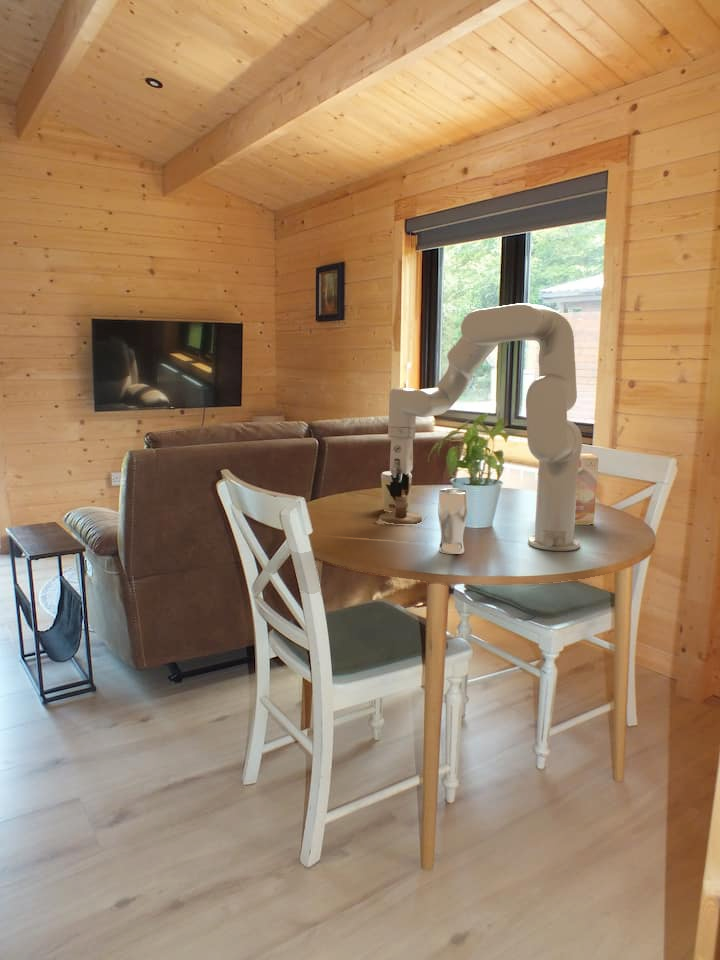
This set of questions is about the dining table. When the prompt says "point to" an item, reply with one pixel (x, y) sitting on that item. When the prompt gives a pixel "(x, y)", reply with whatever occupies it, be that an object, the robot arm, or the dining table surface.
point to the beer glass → (452, 519)
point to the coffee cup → (386, 498)
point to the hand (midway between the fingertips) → (399, 492)
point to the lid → (401, 513)
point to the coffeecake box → (586, 489)
